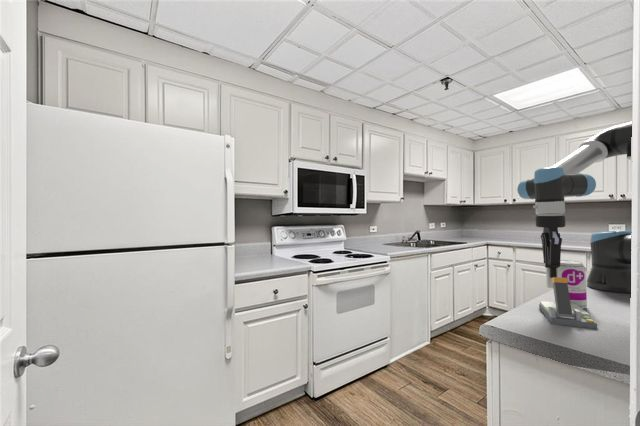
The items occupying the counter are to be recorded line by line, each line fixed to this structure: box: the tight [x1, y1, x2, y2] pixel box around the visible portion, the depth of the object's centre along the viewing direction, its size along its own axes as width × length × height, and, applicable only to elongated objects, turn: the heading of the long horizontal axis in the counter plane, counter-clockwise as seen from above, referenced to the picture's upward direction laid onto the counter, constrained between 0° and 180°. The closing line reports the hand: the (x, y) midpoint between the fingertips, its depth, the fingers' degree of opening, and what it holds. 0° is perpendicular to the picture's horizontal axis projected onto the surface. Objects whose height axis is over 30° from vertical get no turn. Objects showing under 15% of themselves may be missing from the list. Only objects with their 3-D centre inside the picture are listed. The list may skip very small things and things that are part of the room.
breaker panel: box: [538, 300, 598, 330], centre depth 86 cm, size 10×14×4 cm
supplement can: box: [558, 259, 588, 310], centre depth 96 cm, size 8×8×15 cm
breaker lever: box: [552, 277, 575, 318], centre depth 84 cm, size 4×2×11 cm, turn 64°
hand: (552, 287), depth 92 cm, fingers closed
